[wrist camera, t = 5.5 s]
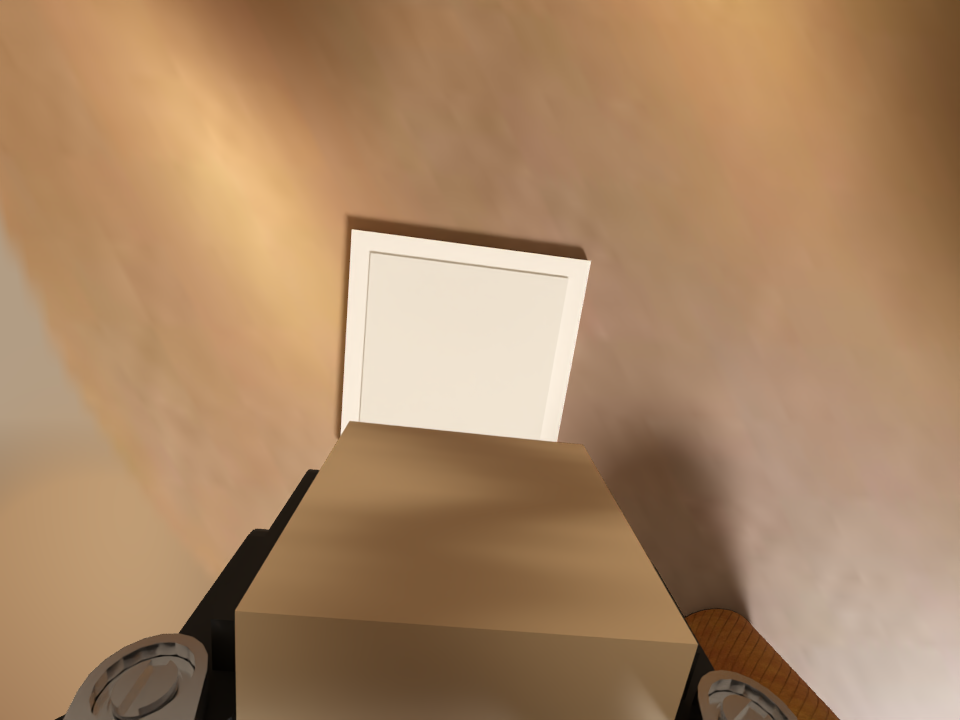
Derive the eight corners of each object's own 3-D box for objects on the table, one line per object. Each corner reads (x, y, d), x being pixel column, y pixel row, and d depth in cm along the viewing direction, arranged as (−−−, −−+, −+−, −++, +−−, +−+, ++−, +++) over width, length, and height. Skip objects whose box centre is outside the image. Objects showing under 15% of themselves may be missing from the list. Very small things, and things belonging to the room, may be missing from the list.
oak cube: (582, 444, 10) (698, 644, 5) (544, 630, 11) (608, 929, 6) (349, 420, 10) (234, 611, 5) (338, 615, 11) (239, 920, 6)
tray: (587, 260, 24) (591, 261, 23) (549, 467, 27) (551, 473, 26) (354, 229, 23) (351, 229, 22) (342, 446, 26) (339, 452, 25)
